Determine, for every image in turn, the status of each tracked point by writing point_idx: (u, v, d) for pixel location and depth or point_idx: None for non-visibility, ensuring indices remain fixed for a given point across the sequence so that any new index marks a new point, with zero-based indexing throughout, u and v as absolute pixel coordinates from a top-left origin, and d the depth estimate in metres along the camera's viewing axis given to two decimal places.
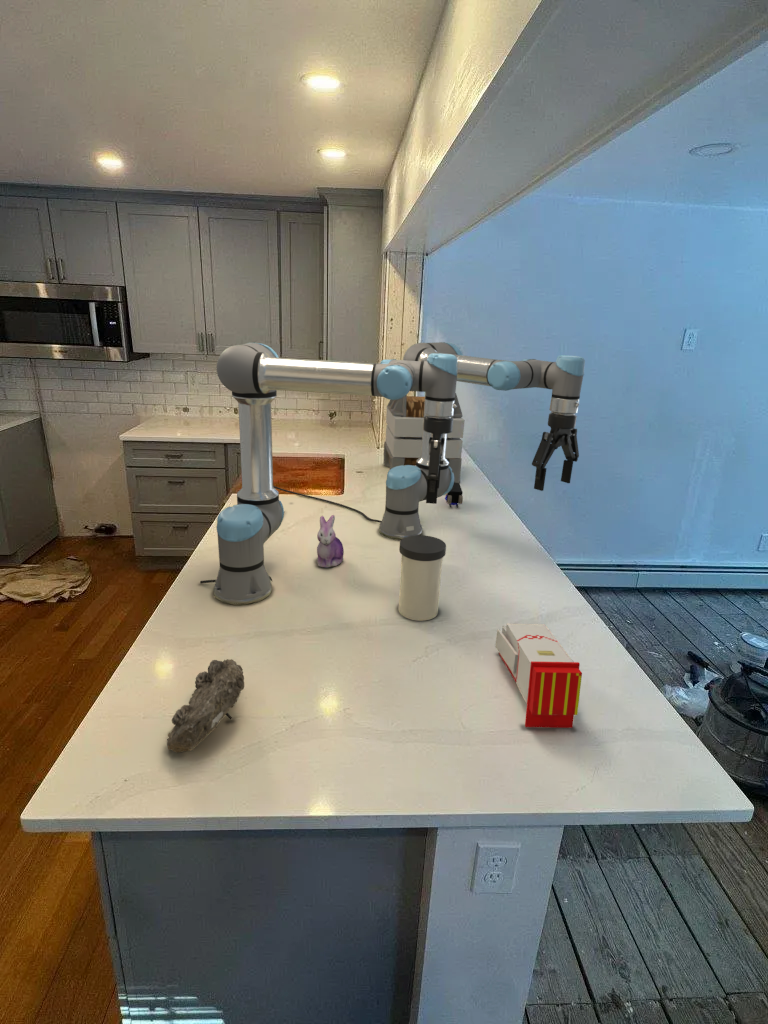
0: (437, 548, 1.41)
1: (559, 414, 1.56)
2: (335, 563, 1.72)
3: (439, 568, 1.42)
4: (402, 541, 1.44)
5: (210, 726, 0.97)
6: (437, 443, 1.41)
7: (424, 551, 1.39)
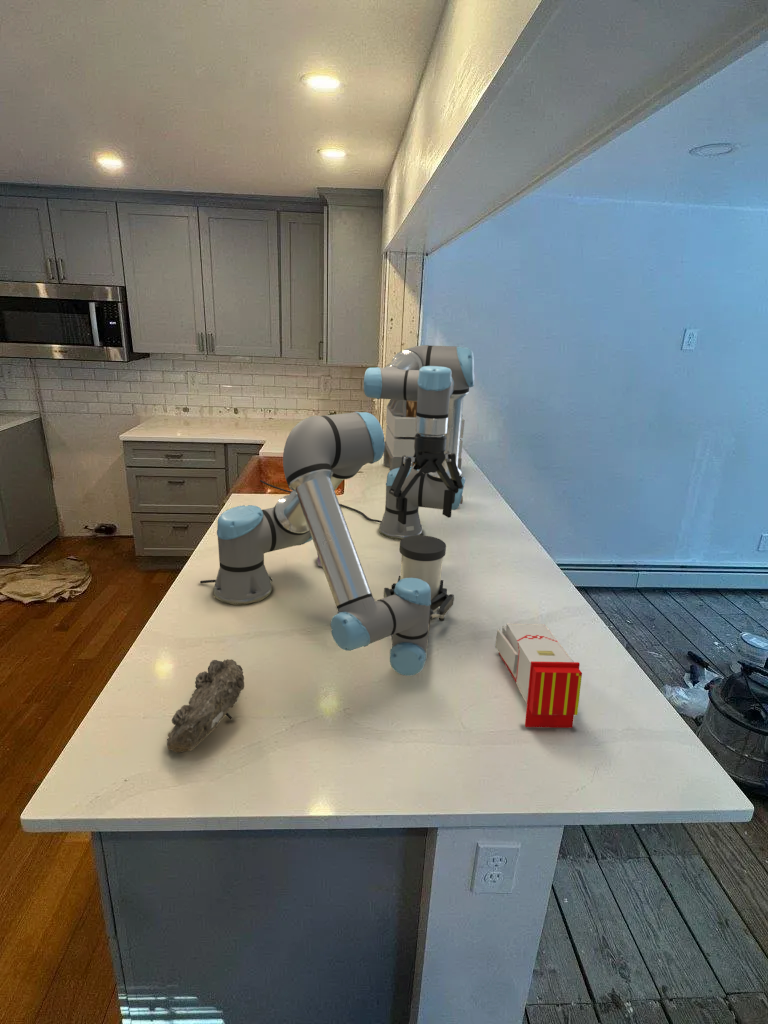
0: (437, 548, 1.41)
1: None
2: None
3: (439, 568, 1.42)
4: (402, 541, 1.44)
5: (210, 726, 0.97)
6: None
7: (424, 551, 1.39)
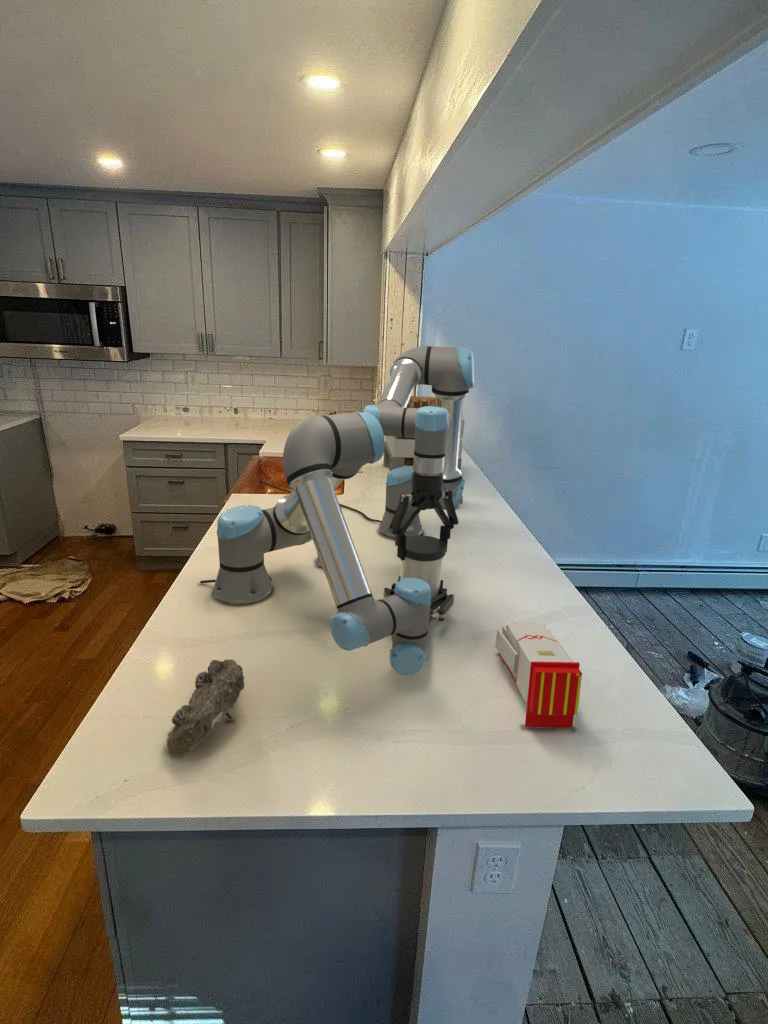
0: (437, 548, 1.41)
1: None
2: None
3: (439, 568, 1.42)
4: None
5: (210, 726, 0.97)
6: None
7: (424, 551, 1.39)
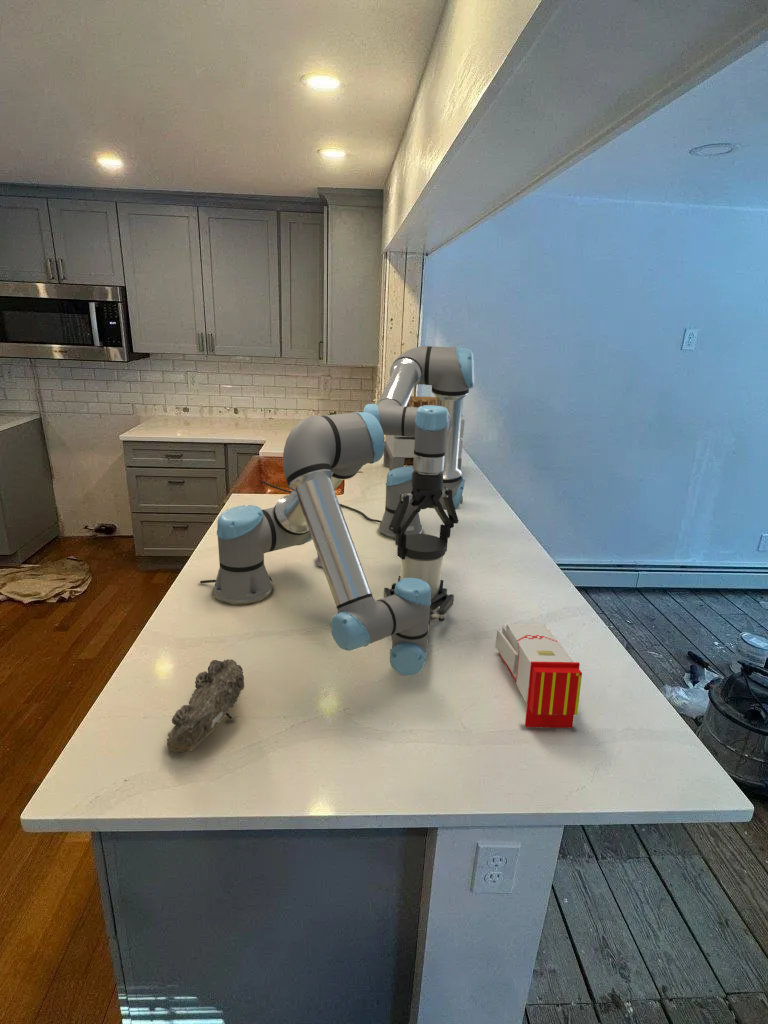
0: (427, 536, 1.47)
1: None
2: None
3: (439, 568, 1.42)
4: (426, 551, 1.38)
5: (210, 726, 0.97)
6: None
7: (440, 541, 1.44)
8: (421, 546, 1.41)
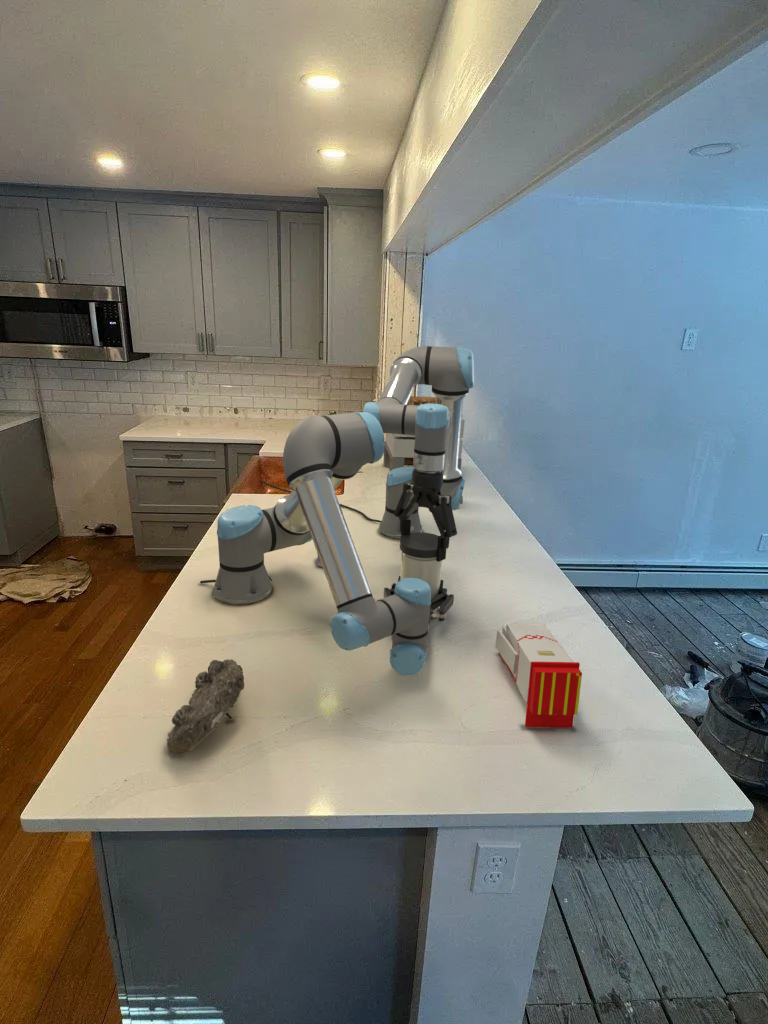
0: (405, 539, 1.43)
1: None
2: None
3: (439, 568, 1.42)
4: None
5: (210, 726, 0.97)
6: None
7: (412, 534, 1.47)
8: (433, 541, 1.43)
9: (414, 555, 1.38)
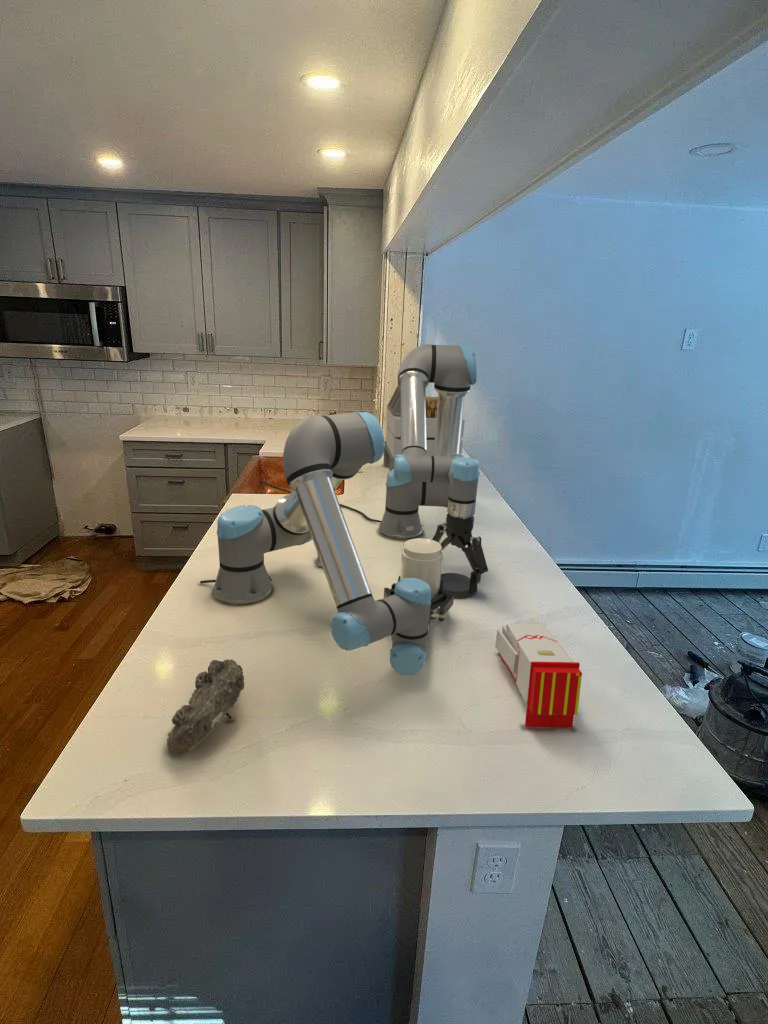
0: None
1: None
2: None
3: (439, 568, 1.42)
4: None
5: (210, 726, 0.97)
6: None
7: (443, 575, 1.65)
8: (463, 581, 1.62)
9: None
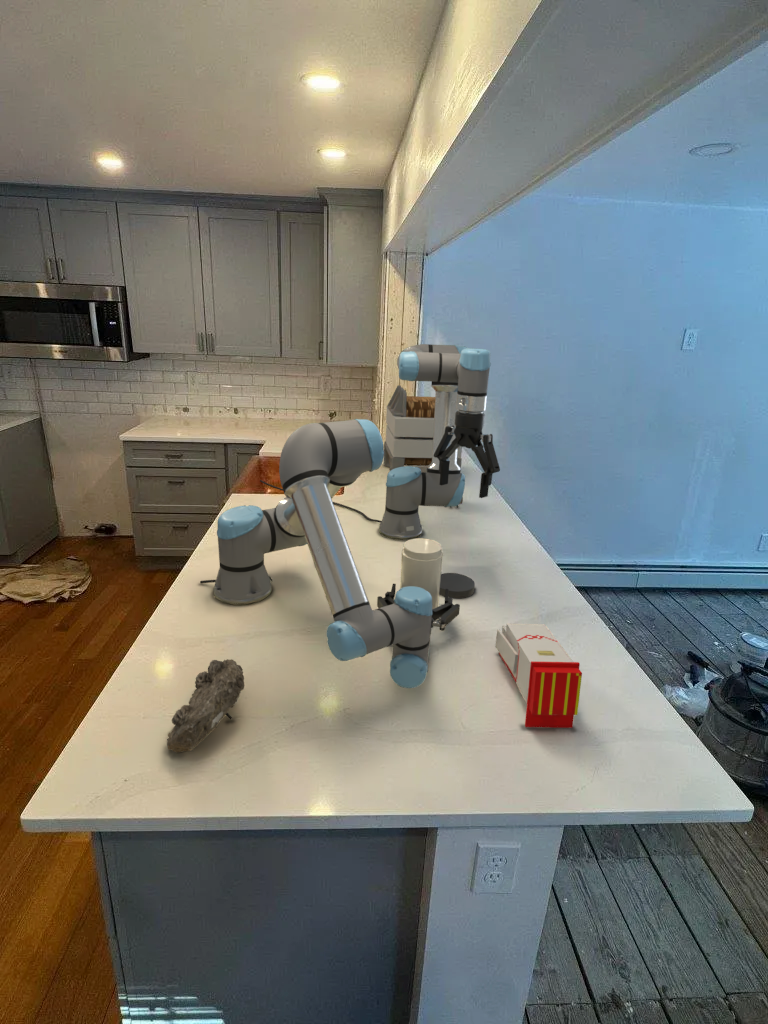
0: None
1: None
2: None
3: (439, 568, 1.42)
4: (470, 579, 1.64)
5: (210, 726, 0.97)
6: None
7: (443, 575, 1.65)
8: (463, 581, 1.62)
9: None
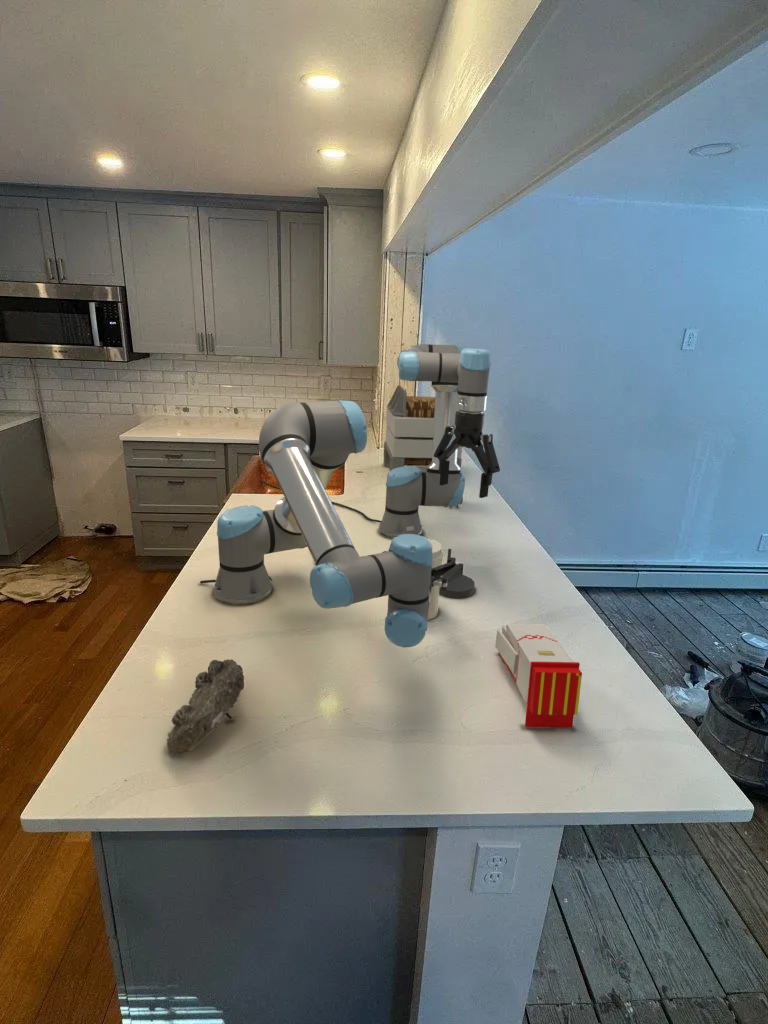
0: None
1: None
2: None
3: None
4: (470, 579, 1.64)
5: (210, 726, 0.97)
6: None
7: None
8: (463, 581, 1.62)
9: (447, 595, 1.57)
